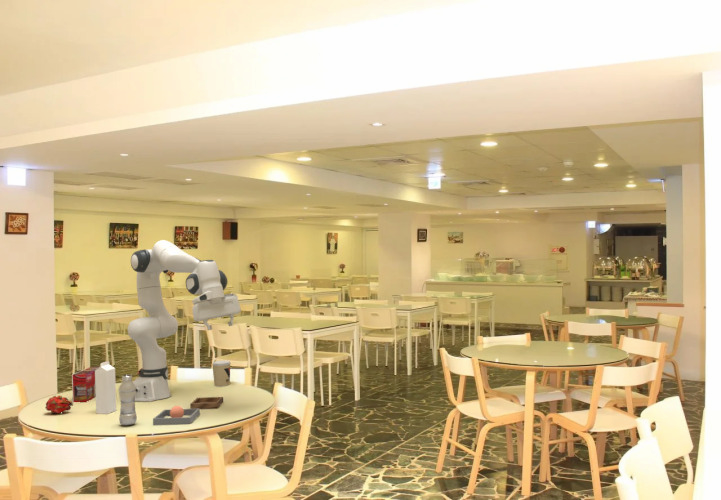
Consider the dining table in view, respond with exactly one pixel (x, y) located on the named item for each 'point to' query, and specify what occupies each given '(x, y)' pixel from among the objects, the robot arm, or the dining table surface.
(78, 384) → the ice cream box
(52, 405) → the dragon fruit
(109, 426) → the dining table surface
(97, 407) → the milk
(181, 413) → the ball
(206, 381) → the dining table surface
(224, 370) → the coffee cup
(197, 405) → the tray
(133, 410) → the plastic bottle
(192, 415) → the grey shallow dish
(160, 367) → the robot arm
